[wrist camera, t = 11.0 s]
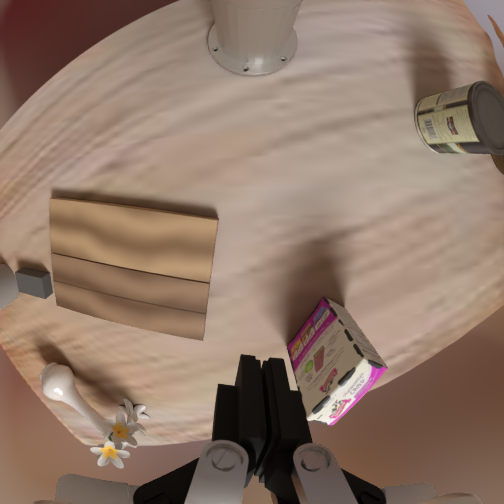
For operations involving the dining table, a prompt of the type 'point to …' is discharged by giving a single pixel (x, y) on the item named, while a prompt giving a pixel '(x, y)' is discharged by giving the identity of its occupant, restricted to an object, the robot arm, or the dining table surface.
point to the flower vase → (95, 414)
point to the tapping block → (34, 282)
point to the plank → (134, 237)
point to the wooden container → (499, 162)
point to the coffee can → (463, 120)
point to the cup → (7, 286)
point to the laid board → (131, 296)
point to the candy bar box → (332, 363)
